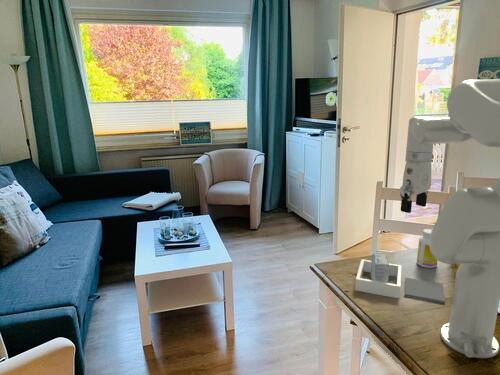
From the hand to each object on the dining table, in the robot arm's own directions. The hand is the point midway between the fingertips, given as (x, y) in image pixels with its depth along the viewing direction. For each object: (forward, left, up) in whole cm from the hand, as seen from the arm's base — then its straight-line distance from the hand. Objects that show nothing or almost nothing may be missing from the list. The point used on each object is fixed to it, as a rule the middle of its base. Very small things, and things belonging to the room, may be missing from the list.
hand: (413, 208), depth 118 cm
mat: (-8, -5, -24) cm, 26 cm away
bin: (-8, +8, -24) cm, 27 cm away
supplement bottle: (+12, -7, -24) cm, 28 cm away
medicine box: (-8, +8, -24) cm, 27 cm away
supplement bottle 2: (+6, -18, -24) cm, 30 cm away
